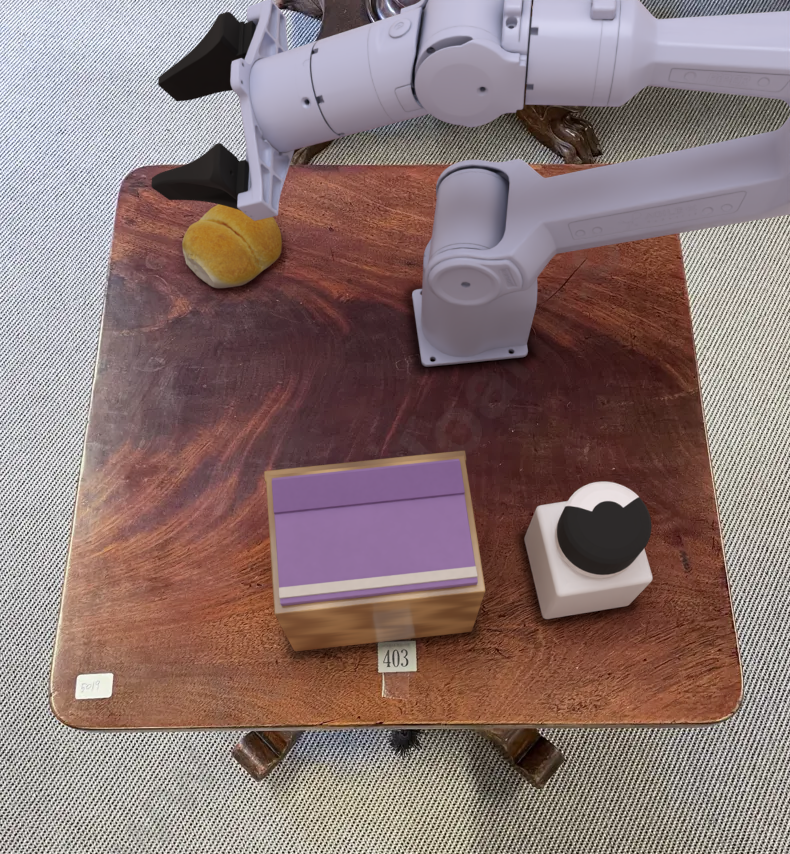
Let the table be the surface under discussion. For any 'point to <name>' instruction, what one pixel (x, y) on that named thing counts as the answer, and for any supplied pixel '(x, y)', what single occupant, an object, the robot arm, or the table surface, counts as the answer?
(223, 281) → the bread roll
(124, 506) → the table surface
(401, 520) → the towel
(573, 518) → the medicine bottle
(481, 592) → the crate
